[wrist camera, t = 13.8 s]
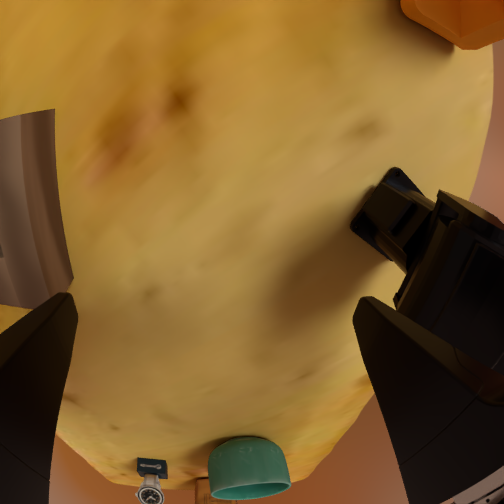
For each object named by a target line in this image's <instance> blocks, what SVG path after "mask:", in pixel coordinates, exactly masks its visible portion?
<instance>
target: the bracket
mask: <svg viewBox="0 0 504 504" xmlns="http://www.w3.org/2000/svg"><path fill="white" fill-rule="evenodd" d="M400 6H401V9H402V11H403V12H404V14H405V15H406V16H407V17H408V18H410V19H412V20H414V21H416V22H418V23H419V24H421V25H423V26H425V27H427V28H428V29H430V30H432V31H434V32H435V33H437V34H439V35H440V36H442V37H444V38H445V39H447V40H448V41H450V42H452V43H453V44H455V45H456V46H458V47H459V48H461V49H462V50H477V49H480V48H482V47H484V46H487V45H489V44H492V43H494V42H497V41H500V40H502V39H504V0H400Z"/></svg>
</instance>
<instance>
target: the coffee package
mask: <svg viewBox="0 0 504 504" xmlns="http://www.w3.org/2000/svg"><path fill="white" fill-rule="evenodd" d="M195 504H237V500H225V499H218V498H215V497H213V496H211V492H210V485H209V479H201V480H199V479H198V480H197V481H196V487H195Z"/></svg>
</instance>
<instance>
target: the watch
mask: <svg viewBox="0 0 504 504" xmlns="http://www.w3.org/2000/svg"><path fill="white" fill-rule="evenodd" d="M137 472H138V473H139V475H140V476H141V477H144V482H142V483H141V486H140V489H139V490H138V492H137V493H136V496H137V497H138V499H139V501H140V502H141V503H142V504H163V502H164V494H163V492H162V491H161V486H160V482H159V480H158V478H159V479H168V474H167V463H166V460H156V459H146V458H138V460H137Z"/></svg>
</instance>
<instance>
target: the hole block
mask: <svg viewBox="0 0 504 504" xmlns="http://www.w3.org/2000/svg"><path fill="white" fill-rule="evenodd" d="M73 279H74V277H73V273H72V269H71V264H70V260H69V255H68V250H67V245H66V240H65V234H64V229H63V222H62V216H61V209H60V201H59V193H58V183H57V172H56V156H55V109H50V110H44V111H38V112H32V113H27V114H22V115H17V116H13V117H9V118H5V119H1V120H0V304H3V305H9V306H15V307H22V308H29V309H35V308H37V307H38V306H39V305H41V304H42V303H44V302H45V301H47V300H48V299H49V298H51V297H52V296H54V295H55V294H57V293H58V292H66V291H67V289H68V287H69V285H70V284H71V282H72V280H73Z"/></svg>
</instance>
